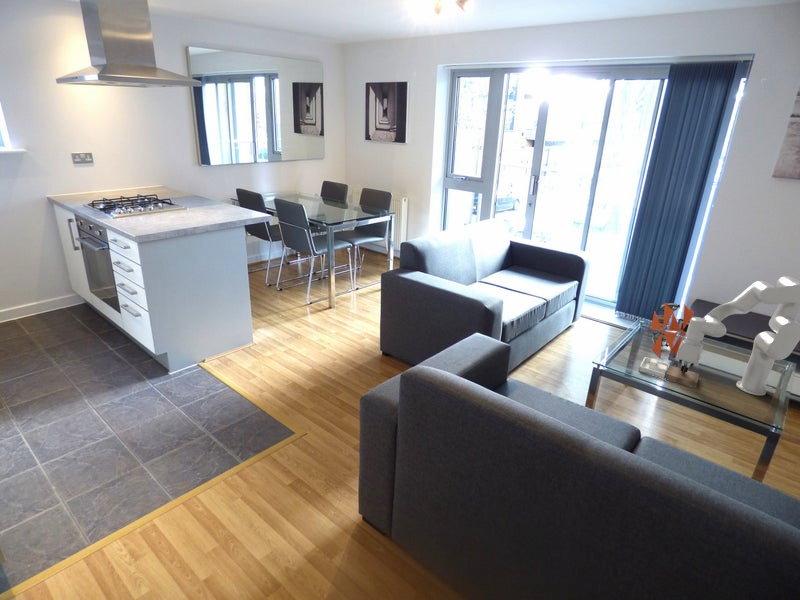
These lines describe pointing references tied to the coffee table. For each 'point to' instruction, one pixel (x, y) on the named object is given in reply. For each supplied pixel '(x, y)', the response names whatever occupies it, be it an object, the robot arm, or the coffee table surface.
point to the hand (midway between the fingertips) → (683, 372)
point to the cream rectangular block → (660, 368)
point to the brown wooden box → (682, 376)
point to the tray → (645, 366)
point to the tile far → (653, 364)
